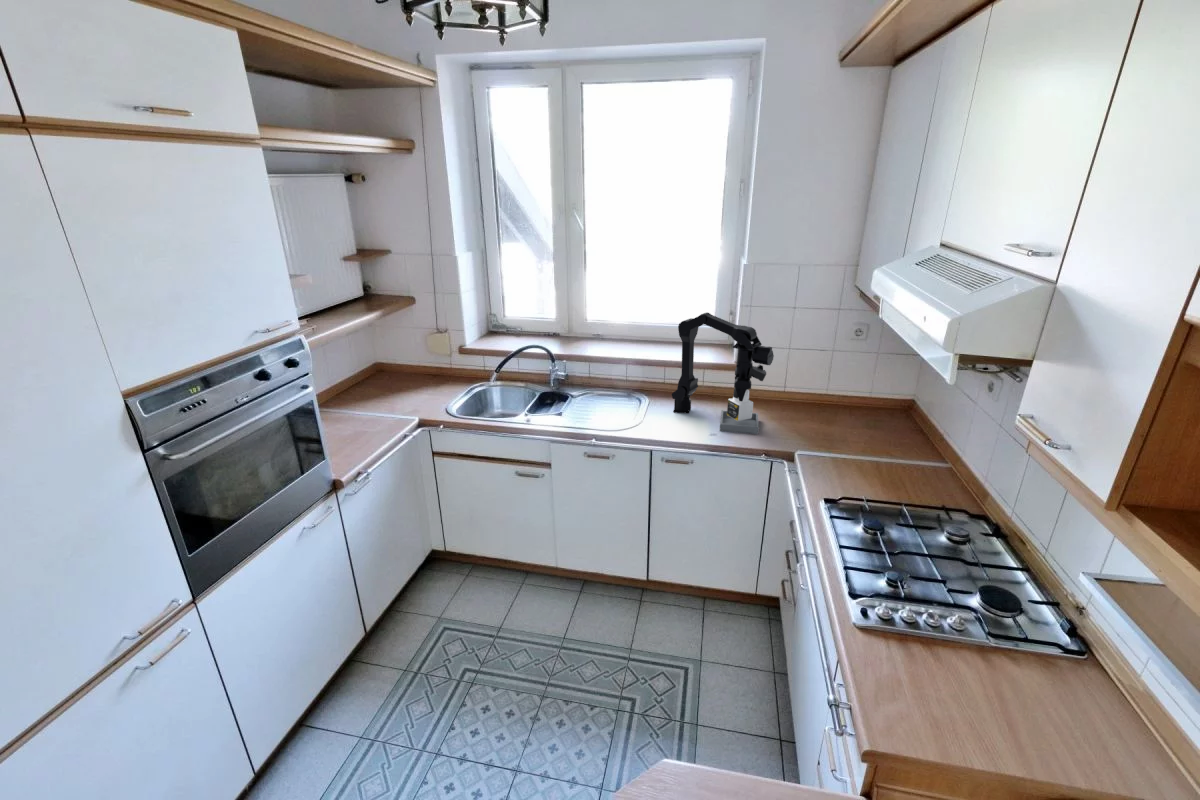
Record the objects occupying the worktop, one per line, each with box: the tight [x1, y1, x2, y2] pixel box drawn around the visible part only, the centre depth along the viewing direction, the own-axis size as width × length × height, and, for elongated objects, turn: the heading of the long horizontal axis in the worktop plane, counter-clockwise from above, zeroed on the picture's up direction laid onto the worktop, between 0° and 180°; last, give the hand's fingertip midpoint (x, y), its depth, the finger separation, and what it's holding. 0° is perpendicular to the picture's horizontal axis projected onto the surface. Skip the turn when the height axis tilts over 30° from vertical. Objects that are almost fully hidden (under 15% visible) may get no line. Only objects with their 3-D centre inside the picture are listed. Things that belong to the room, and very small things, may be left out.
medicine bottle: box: [726, 388, 754, 421], centre depth 222 cm, size 7×7×12 cm
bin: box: [719, 409, 760, 435], centre depth 225 cm, size 15×15×3 cm
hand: (740, 398), depth 222 cm, fingers closed on medicine bottle, 6 cm apart
